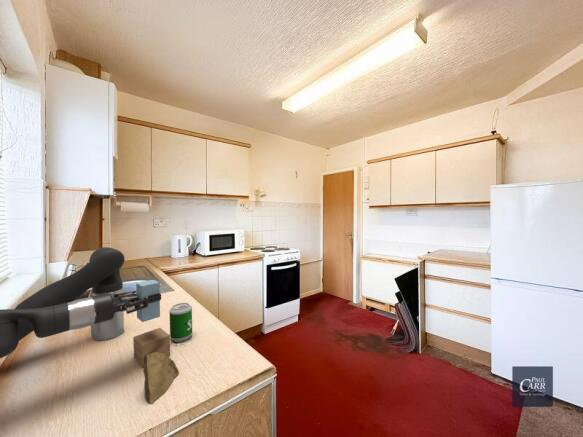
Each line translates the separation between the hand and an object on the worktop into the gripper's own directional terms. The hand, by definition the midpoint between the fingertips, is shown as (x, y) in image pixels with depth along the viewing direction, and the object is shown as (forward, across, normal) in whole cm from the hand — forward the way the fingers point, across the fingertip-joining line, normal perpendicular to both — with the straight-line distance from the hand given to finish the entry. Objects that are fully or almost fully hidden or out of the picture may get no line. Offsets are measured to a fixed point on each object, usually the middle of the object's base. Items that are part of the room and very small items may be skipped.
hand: (157, 294), depth 78 cm
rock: (-5, +16, -20) cm, 26 cm away
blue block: (-3, 0, -6) cm, 7 cm away
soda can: (+10, -4, -20) cm, 23 cm away
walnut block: (-2, 0, -20) cm, 20 cm away
